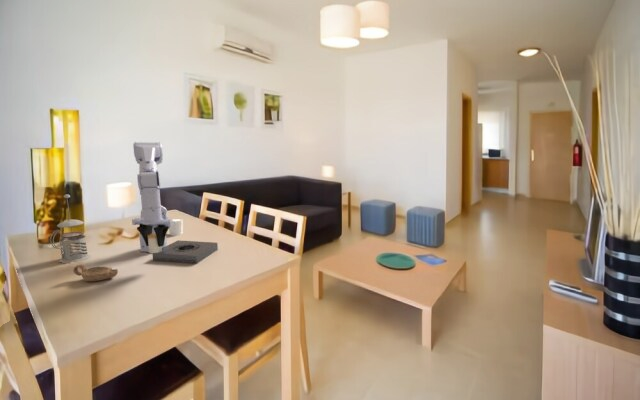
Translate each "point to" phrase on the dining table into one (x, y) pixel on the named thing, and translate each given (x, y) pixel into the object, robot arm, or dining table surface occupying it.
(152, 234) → the plug
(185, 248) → the dark grey slab
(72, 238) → the french press
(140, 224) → the robot arm
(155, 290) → the dining table surface
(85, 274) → the oil lamp
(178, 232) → the cream tapered cylinder
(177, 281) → the dining table surface
